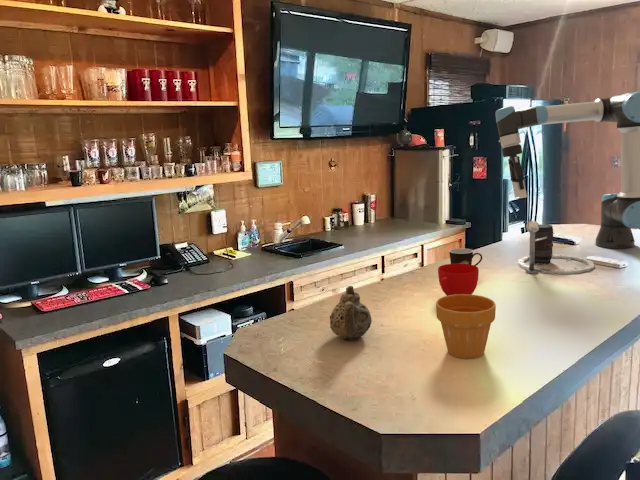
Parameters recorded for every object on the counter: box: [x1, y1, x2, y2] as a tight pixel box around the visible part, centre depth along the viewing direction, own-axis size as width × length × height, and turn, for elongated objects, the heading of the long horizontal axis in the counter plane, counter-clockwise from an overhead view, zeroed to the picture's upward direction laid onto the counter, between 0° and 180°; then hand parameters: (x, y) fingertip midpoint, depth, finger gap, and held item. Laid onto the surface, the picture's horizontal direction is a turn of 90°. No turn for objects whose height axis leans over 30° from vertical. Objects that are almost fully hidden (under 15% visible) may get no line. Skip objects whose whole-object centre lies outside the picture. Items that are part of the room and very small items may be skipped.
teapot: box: [329, 285, 373, 340], centre depth 144 cm, size 21×12×15 cm, turn 178°
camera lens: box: [534, 224, 554, 265], centre depth 211 cm, size 8×8×15 cm
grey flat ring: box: [517, 253, 595, 275], centre depth 207 cm, size 27×27×1 cm
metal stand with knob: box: [524, 220, 547, 275], centre depth 199 cm, size 11×4×20 cm, turn 125°
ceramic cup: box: [437, 263, 480, 296], centre depth 173 cm, size 13×17×10 cm
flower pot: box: [435, 294, 497, 360], centre depth 131 cm, size 14×14×13 cm
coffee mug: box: [448, 247, 483, 267], centre depth 197 cm, size 12×9×10 cm
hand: (520, 197), depth 214 cm, fingers open, 13 cm apart
